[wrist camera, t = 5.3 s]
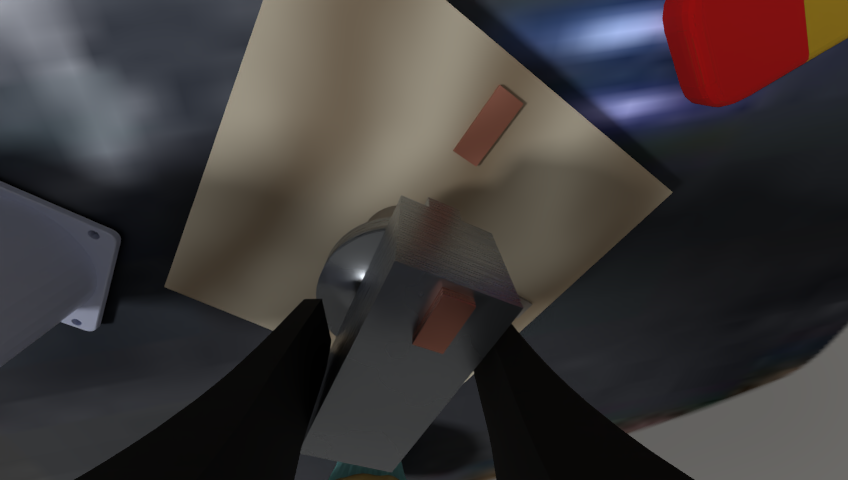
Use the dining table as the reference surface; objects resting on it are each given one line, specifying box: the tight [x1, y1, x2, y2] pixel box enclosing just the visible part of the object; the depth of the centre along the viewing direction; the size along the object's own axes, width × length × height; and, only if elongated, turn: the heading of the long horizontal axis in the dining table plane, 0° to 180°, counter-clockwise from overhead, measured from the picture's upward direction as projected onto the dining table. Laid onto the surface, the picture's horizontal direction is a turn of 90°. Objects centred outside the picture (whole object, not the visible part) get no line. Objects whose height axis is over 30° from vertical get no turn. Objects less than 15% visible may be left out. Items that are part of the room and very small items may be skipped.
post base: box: [164, 0, 673, 382], centre depth 15 cm, size 18×18×4 cm
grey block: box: [300, 195, 523, 473], centre depth 11 cm, size 8×6×5 cm
